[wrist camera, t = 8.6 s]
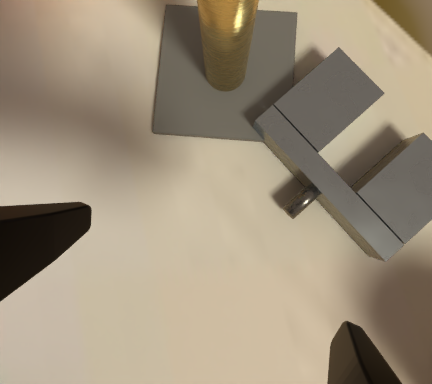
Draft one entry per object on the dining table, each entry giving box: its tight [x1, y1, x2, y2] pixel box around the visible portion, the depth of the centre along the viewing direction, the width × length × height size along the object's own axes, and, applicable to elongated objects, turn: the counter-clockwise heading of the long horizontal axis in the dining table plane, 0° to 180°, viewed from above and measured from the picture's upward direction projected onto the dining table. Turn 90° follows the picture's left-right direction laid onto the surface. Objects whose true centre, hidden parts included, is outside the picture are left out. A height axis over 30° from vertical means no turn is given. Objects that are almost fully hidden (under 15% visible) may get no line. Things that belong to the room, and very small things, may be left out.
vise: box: [253, 47, 432, 262], centre depth 17 cm, size 10×12×2 cm
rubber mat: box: [153, 5, 297, 142], centre depth 19 cm, size 10×10×1 cm
